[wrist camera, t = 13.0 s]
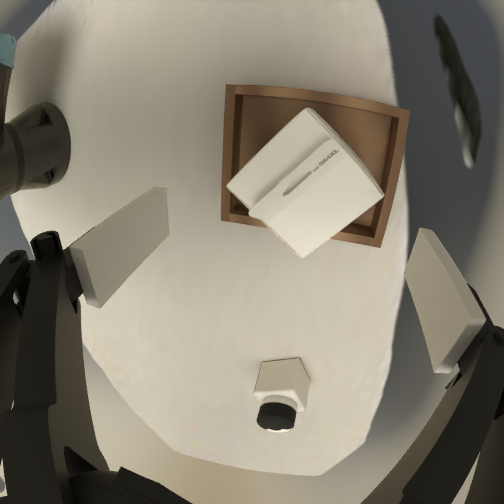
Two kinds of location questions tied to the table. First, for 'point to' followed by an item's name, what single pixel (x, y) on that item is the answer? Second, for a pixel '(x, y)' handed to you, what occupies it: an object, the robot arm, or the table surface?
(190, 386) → the table surface
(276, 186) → the ink box
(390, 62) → the table surface
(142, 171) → the table surface
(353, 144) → the walnut tray
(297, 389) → the medicine bottle
